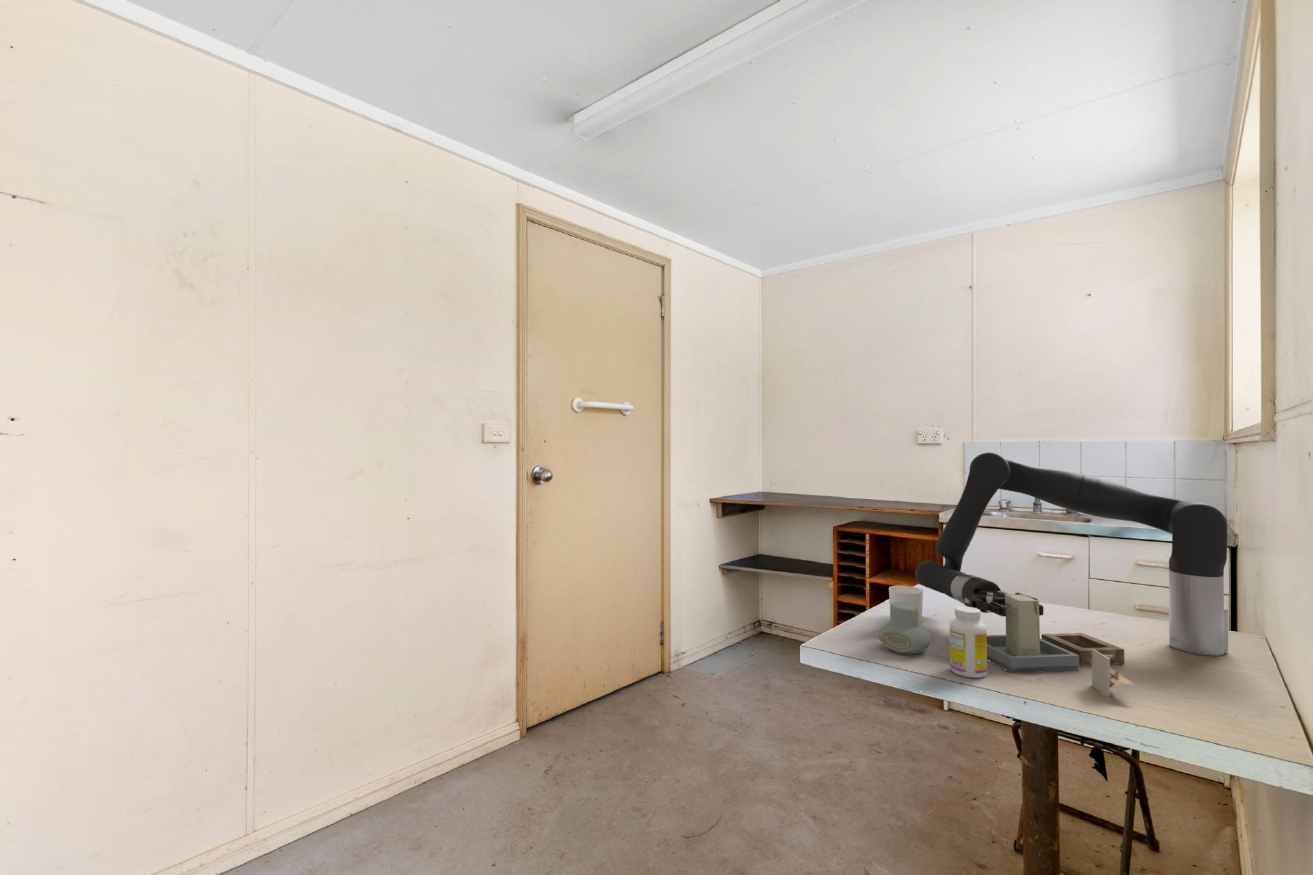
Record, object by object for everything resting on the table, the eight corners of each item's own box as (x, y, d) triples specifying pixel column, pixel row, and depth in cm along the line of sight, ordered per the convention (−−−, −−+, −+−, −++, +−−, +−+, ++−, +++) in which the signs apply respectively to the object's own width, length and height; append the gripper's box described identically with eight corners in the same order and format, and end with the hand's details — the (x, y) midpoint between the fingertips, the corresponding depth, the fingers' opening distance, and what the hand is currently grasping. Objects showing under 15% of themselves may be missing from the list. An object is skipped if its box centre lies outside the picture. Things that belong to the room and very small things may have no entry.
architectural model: (1111, 688, 114) (1111, 649, 114) (1133, 704, 108) (1133, 662, 108) (1091, 687, 115) (1091, 648, 115) (1112, 702, 108) (1112, 661, 108)
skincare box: (1041, 659, 125) (1041, 601, 125) (1019, 659, 126) (1019, 600, 126) (1025, 649, 132) (1025, 593, 132) (1004, 648, 132) (1004, 593, 132)
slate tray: (1029, 647, 136) (1029, 633, 136) (1079, 670, 122) (1079, 655, 122) (967, 649, 135) (967, 635, 135) (1010, 673, 121) (1010, 658, 121)
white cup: (925, 628, 150) (925, 588, 150) (920, 636, 143) (920, 594, 144) (892, 623, 154) (892, 584, 154) (886, 631, 148) (885, 590, 148)
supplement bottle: (985, 670, 122) (985, 607, 123) (988, 681, 116) (988, 615, 117) (949, 664, 125) (949, 603, 125) (950, 676, 119) (949, 611, 119)
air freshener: (936, 651, 133) (936, 606, 133) (922, 661, 127) (922, 614, 127) (887, 640, 141) (887, 597, 141) (872, 649, 135) (872, 604, 135)
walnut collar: (1082, 646, 137) (1082, 632, 137) (1124, 663, 126) (1124, 649, 126) (1041, 647, 136) (1041, 634, 136) (1080, 665, 125) (1080, 651, 125)
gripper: (947, 577, 143) (992, 594, 127) (1002, 576, 145) (1054, 593, 128) (947, 608, 143) (992, 630, 127) (1003, 607, 144) (1054, 628, 128)
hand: (1023, 611), depth 128 cm, fingers open, 8 cm apart
